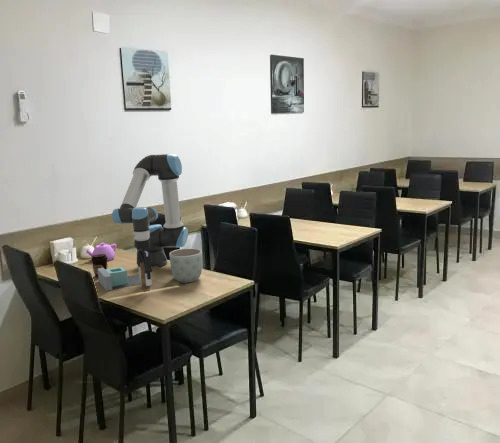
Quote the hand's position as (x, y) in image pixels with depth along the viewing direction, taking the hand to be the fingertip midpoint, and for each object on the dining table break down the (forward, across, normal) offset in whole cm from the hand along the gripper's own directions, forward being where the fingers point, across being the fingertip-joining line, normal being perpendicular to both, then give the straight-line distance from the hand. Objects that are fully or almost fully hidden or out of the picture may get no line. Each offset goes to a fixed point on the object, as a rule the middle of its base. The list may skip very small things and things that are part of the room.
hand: (145, 282), depth 240 cm
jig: (+4, -16, -8) cm, 18 cm away
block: (+3, -16, -10) cm, 19 cm away
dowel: (+4, 0, 0) cm, 4 cm away
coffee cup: (+4, -34, -15) cm, 37 cm away
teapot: (+4, -74, -6) cm, 74 cm away
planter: (+4, -3, +23) cm, 24 cm away
